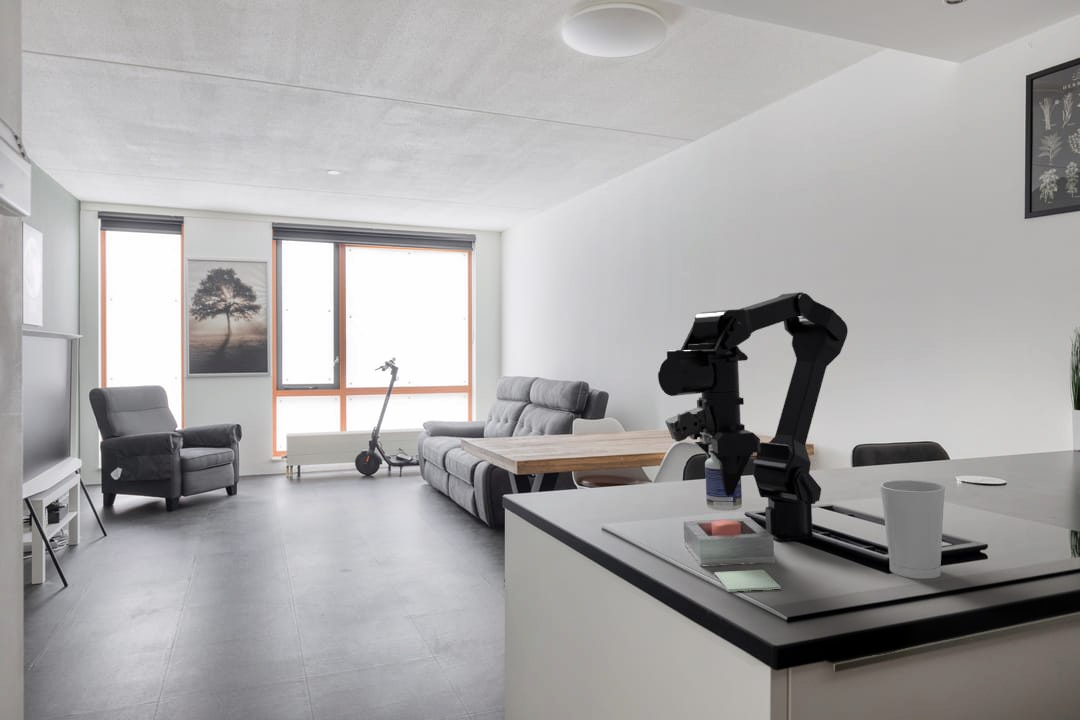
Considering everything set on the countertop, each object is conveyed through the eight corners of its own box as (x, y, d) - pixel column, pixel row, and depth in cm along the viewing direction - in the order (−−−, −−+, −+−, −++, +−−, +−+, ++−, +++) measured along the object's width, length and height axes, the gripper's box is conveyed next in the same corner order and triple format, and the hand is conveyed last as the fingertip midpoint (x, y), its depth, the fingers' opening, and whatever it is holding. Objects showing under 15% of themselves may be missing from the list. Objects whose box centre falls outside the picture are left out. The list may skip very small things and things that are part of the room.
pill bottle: (743, 511, 106) (741, 447, 106) (707, 511, 107) (704, 448, 107) (740, 503, 112) (738, 442, 111) (706, 503, 113) (703, 443, 113)
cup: (871, 564, 102) (868, 482, 101) (923, 560, 102) (921, 478, 102) (904, 582, 94) (901, 493, 94) (961, 578, 94) (958, 489, 94)
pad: (763, 572, 100) (763, 569, 100) (780, 589, 93) (780, 586, 93) (714, 575, 100) (714, 572, 100) (728, 592, 93) (728, 589, 93)
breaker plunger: (736, 540, 112) (735, 519, 112) (745, 548, 108) (744, 526, 108) (709, 541, 112) (708, 521, 112) (716, 549, 108) (715, 528, 107)
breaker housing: (751, 542, 115) (750, 518, 115) (774, 562, 104) (773, 536, 104) (684, 545, 115) (683, 521, 115) (700, 566, 104) (699, 539, 104)
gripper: (657, 389, 118) (661, 481, 119) (681, 398, 100) (686, 507, 100) (723, 386, 119) (727, 478, 119) (759, 394, 100) (763, 503, 100)
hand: (724, 490), depth 110 cm, fingers closed on pill bottle, 5 cm apart
